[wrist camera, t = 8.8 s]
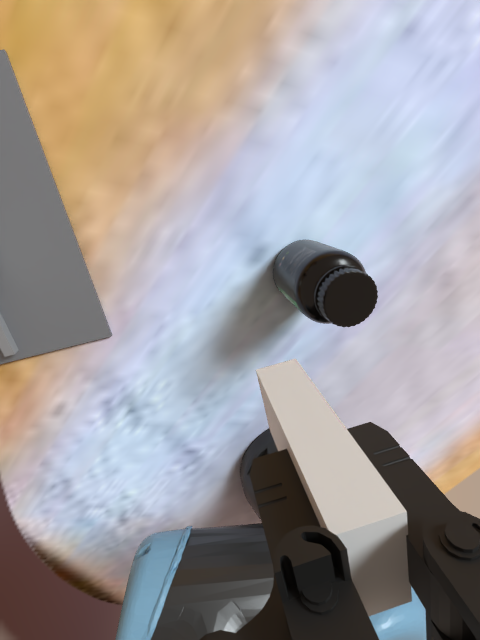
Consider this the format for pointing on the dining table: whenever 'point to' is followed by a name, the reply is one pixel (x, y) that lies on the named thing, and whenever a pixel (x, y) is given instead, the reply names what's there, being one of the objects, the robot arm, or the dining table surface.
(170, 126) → the dining table surface
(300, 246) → the supplement bottle
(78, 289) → the board
